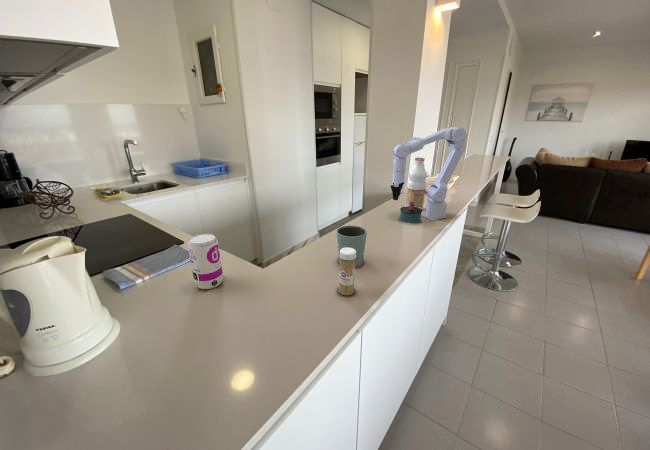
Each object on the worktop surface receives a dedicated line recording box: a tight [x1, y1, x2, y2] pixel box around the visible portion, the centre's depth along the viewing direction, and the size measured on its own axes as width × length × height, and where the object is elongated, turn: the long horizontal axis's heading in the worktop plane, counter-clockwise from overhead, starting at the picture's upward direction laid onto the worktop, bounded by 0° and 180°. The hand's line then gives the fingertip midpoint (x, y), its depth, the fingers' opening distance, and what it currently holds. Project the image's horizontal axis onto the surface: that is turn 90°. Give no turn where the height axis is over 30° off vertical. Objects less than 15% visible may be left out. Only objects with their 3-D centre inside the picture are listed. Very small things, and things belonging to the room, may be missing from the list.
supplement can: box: [187, 233, 224, 290], centre depth 83 cm, size 8×8×15 cm
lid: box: [399, 201, 423, 214], centre depth 134 cm, size 10×10×5 cm
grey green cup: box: [336, 225, 368, 268], centre depth 96 cm, size 10×10×12 cm
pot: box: [399, 210, 422, 224], centre depth 136 cm, size 10×10×5 cm
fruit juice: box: [404, 157, 428, 210], centre depth 150 cm, size 9×9×28 cm
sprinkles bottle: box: [338, 248, 356, 296], centre depth 79 cm, size 5×5×13 cm
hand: (396, 198), depth 138 cm, fingers open, 7 cm apart
